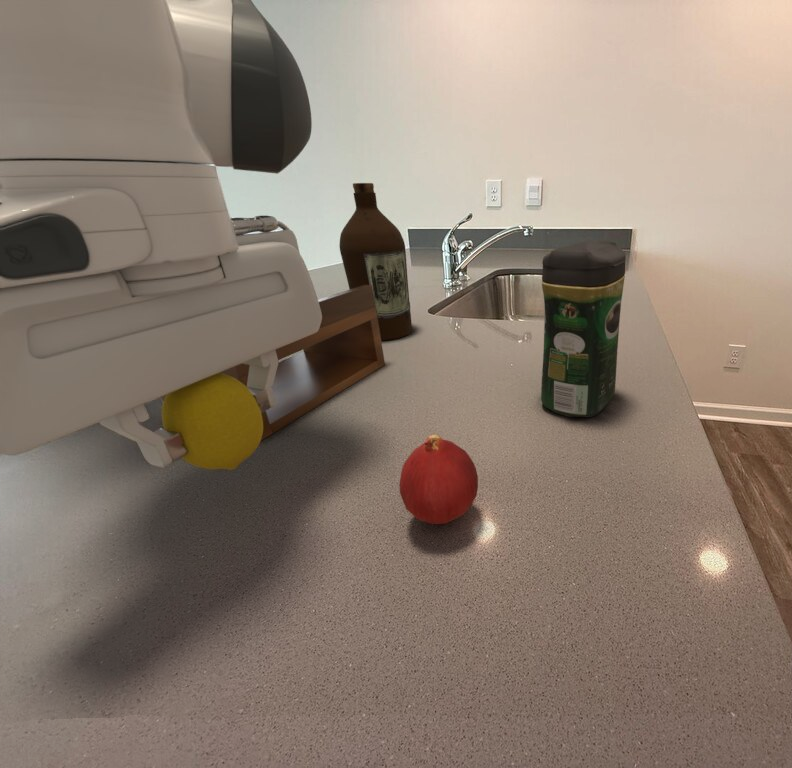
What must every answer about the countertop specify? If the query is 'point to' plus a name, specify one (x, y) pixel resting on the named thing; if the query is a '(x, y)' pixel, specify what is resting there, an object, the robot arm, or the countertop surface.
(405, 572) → the countertop surface
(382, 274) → the olive oil
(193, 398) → the lemon
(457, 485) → the onion
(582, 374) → the coffee jar
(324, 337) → the shelf
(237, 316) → the robot arm
